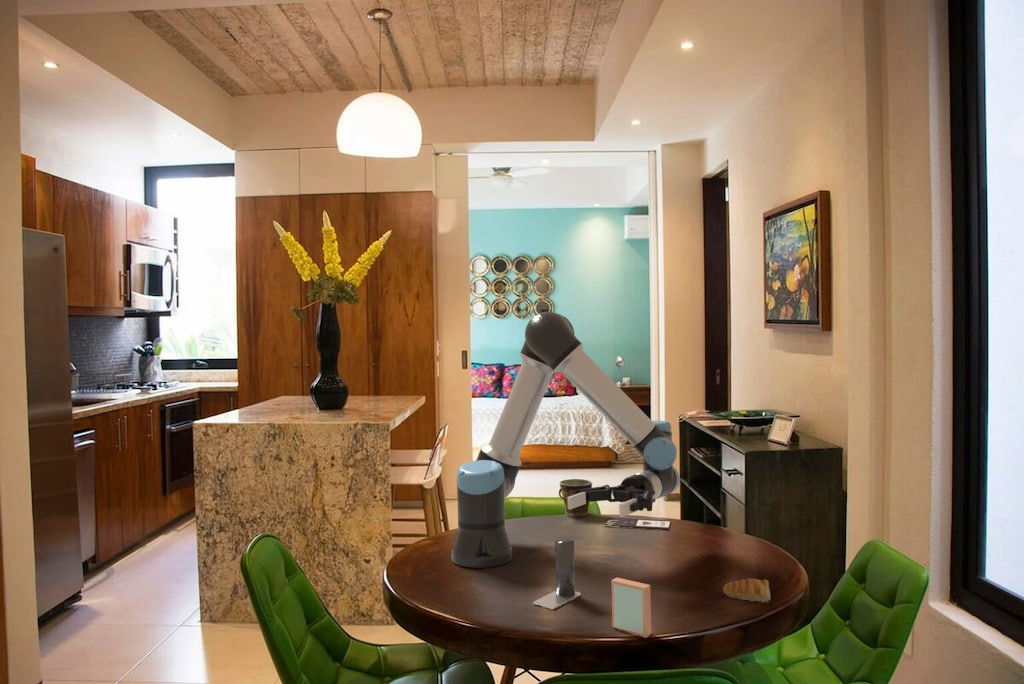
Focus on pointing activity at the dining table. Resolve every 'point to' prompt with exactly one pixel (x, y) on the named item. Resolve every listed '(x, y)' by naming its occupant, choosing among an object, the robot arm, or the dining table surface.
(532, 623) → the dining table surface
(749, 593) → the pastry
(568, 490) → the ceramic cup
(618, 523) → the chocolate bar
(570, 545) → the metal post on base
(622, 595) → the tile
